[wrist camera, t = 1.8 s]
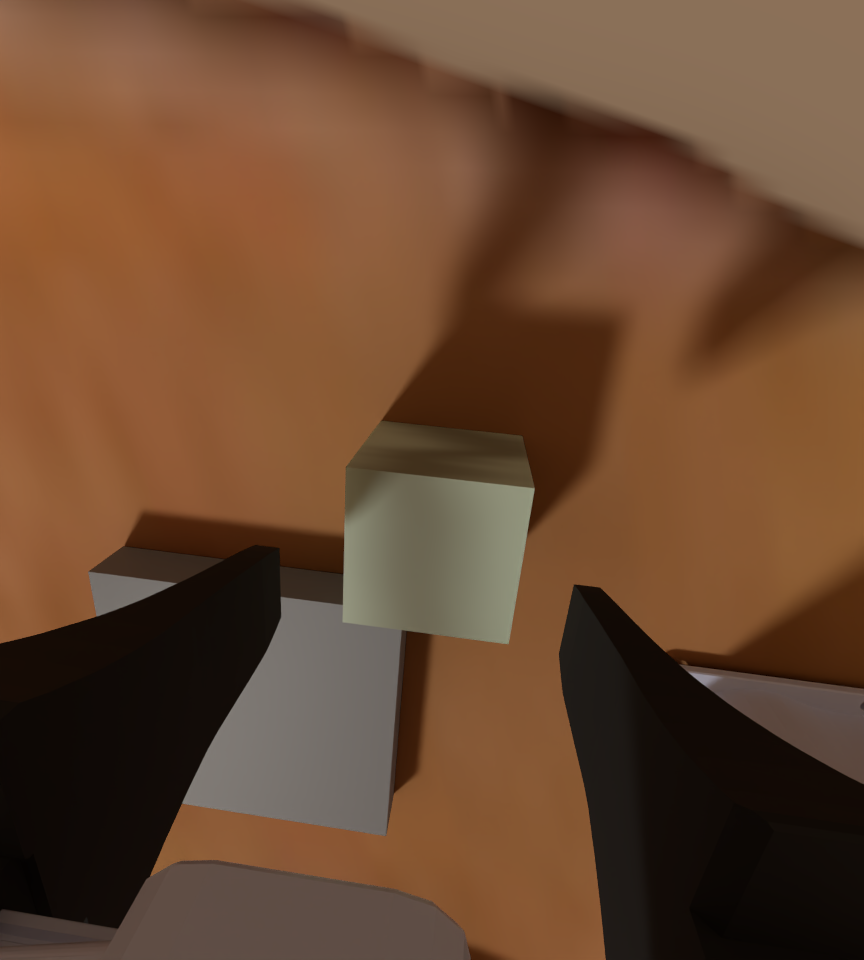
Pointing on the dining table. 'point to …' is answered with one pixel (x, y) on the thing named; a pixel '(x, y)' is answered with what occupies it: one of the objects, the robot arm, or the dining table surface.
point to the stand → (292, 702)
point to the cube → (436, 530)
